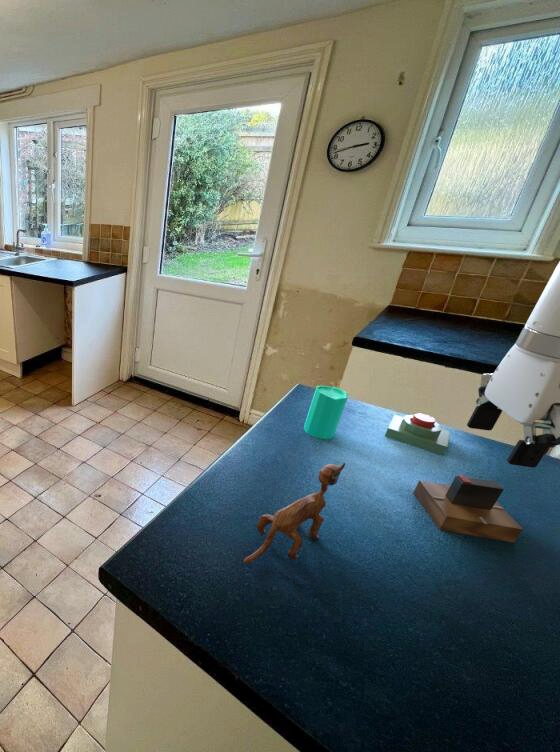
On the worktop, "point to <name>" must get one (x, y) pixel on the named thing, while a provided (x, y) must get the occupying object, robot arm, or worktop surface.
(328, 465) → the cat figurine
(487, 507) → the dark grey block
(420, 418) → the button
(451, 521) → the panel
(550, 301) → the robot arm
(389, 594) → the worktop surface
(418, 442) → the button box
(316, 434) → the candle
